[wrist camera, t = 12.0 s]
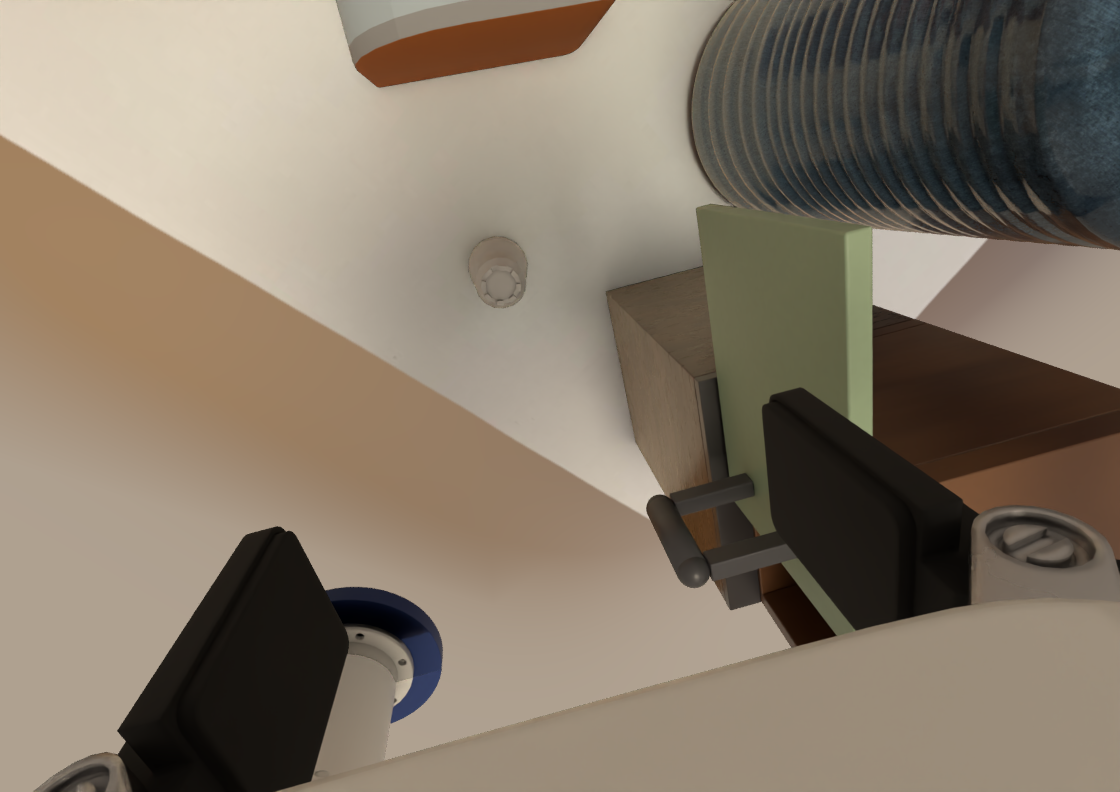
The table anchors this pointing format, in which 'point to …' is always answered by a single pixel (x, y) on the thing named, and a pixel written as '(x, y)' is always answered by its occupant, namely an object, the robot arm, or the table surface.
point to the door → (773, 370)
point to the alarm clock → (460, 34)
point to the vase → (919, 115)
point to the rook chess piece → (498, 271)
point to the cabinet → (898, 422)
